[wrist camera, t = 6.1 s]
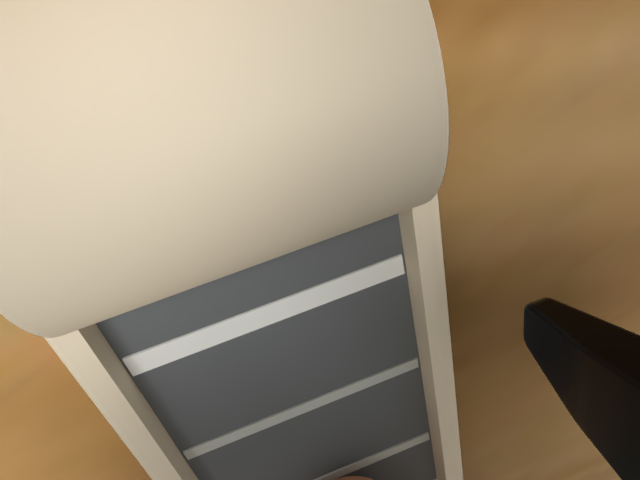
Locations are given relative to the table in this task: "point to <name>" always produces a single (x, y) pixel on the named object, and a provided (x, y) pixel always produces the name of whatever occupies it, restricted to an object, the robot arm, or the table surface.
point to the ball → (354, 478)
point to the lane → (236, 229)
